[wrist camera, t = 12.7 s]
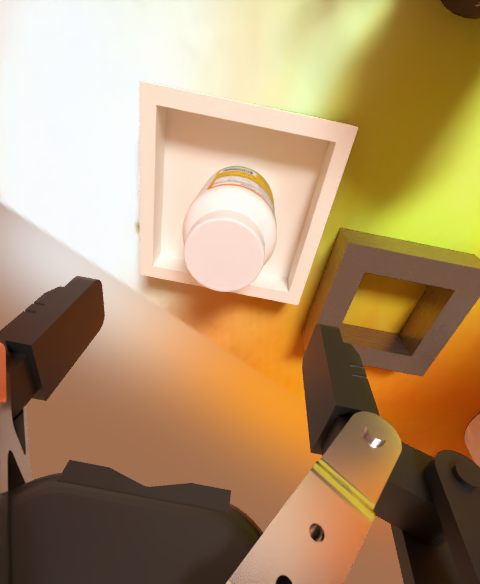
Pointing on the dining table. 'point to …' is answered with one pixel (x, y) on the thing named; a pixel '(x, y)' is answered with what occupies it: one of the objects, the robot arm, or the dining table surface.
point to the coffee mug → (464, 7)
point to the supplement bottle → (230, 229)
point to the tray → (230, 152)
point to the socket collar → (406, 266)
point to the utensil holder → (473, 439)
